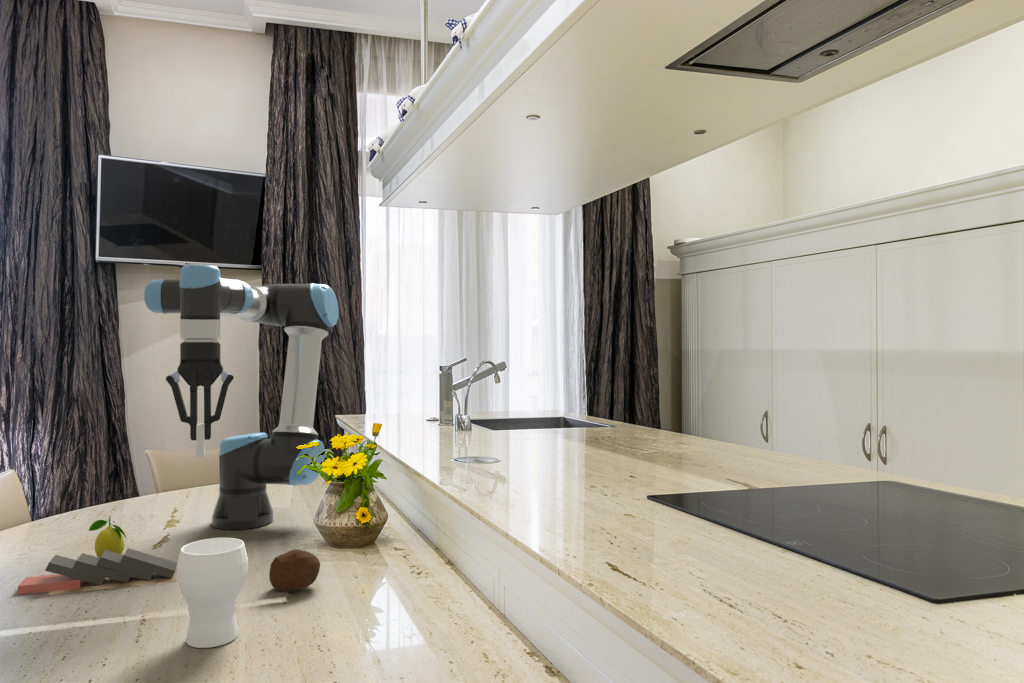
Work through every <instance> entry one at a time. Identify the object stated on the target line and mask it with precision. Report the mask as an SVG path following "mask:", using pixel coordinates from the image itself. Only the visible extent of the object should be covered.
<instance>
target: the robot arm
mask: <svg viewBox="0 0 1024 683" xmlns="http://www.w3.org/2000/svg"><path fill="white" fill-rule="evenodd" d="M143 293H144V294H143V301H144V304H145V306H146V307H147V309H148V310H150V311H151V312H152V313H154V314H155V313H156V314H164V315H166V314H167V315H168V314H180V316H179V317H180V318H179V319H180V320H179V331H180V332H179V338H180V339H181V340H183V341H182V342H181V343H180V344H179V347H180V348H179V352H180V353H179V354H180V355H179V356H180V357H179V358H180V360H179V365H178V367H177V371H175V372H173V373H172V374H168V375H167V376H166V377H165V380H166V381H165V382H167V383H168V384H169V387H171V391H172V394H173V397H174V398H173V399H174V401H175V405H176V409H177V412H178V416H179V420H180V422H182V423H186V424H188V425H189V426H190V427H189V428H190V434H189V436H190V438H189V439H190V440H191V441H196V442H195V443H196V445H195V446H196V447H195V448H196V455H195V456H196V458H205V456H206V441H209V440H211V437H212V425H213V423H215V422H218V421H220V420H221V417H222V416H221V415H222V413H223V409H224V405H225V401H226V397H227V392H228V389H229V386H230V384H231V382H232V381H233V380H234V377H235V376H234V374H233V373H230V372H228V371H226V370H224V366H223V365H222V362H221V343H220V341H218V340H220V339H221V317H233V318H239V319H241V320H242V321H244V322H250V323H251V322H252V323H258V324H264V325H268V326H269V325H270V326H276V327H284V328H283V330H284V332H285V333H286V335H287V336H288V344H287V354H286V360H285V361H286V362H285V371H284V380H283V388H282V395H281V396H282V397H281V407H280V415H279V423H278V426H277V427H275V429H274V428H273V430H272V432H271V438H268V434H267V433H266V432H254V433H252V432H251V433H246V434H238V435H233V436H229V437H226V438H224V439H222V440H221V442H220V445H219V452H218V453H219V454H218V460H219V462H218V464H219V474H218V475H219V478H218V479H219V480H218V482H219V483H218V484H219V485H218V486H219V492H218V497H217V501H216V504H215V506H214V510H213V513H212V516H211V526H212V527H213V528H216V529H220V530H229V531H230V530H232V531H233V530H246V529H253V528H259V527H263V526H266V525H269V524H271V523H272V522H273V521H274V509H273V507H272V504H271V501H270V498H269V495H268V492H267V485H281V486H282V485H284V486H295V487H296V486H308V485H310V484H313V483H314V481H316V480H317V478H318V477H319V475H320V474H319V473H317V472H315V471H312V470H310V469H309V468H304V469H303V470H302V471H301V473H300V474H298V475H297V472H298V471H299V470H300V469H301V468H302V467H303V466H304V465H308V464H310V463H311V459H310V458H309V457H302V458H300V459H298V460H296V459H297V458H299V457H300V456H302V455H303V454H308V455H309V456H310V457H316V456H317V455H319V454H320V453H321V452H323V451H325V444H324V443H323V441H322V440H319V433H318V432H317V431H316V430H315V428H314V421H315V412H316V401H317V391H318V384H319V382H318V381H319V372H320V364H321V363H320V362H321V354H322V352H321V351H322V344H323V343H322V341H323V340H324V339H325V338H327V336H329V333H330V332H329V330H330V328H332V327H335V325H337V324H338V321H339V317H340V316H339V315H340V314H339V313H340V312H339V309H340V308H339V302H338V299H337V296H336V294H335V292H334V290H333V289H332V288H331V287H330V286H329V285H327V284H325V283H324V284H323V283H314V282H311V283H273V284H265V285H264V284H263V285H250V284H248V283H247V282H245V281H244V280H243V281H242V280H240V279H236V278H223V277H222V276H221V270H220V268H219V267H217V266H216V265H210V264H209V265H208V264H207V265H206V264H186V265H184V266H182V267H181V268H180V277H179V278H178V279H177V278H176V279H175V278H173V279H171V278H170V279H169V278H168V279H167V278H161V279H152V280H150V281H149V282H148V283H147V284H146V286H145V288H144V291H143ZM220 375H221V379H220V380H221V381H220V382H222V385H221V387H220V393H219V396H218V400H217V404H216V408H215V411H214V415H212V385H213V384H215V382H216V381H217V379H218V378H219V377H220ZM180 376H181V378H182V379H183V380H184V381H185V383H186V384H187V385H188V386H189V416H188V413H187V408H186V406H185V400H184V398H183V395H182V391H181V387H180V385H179V383H180V381H181V379H180ZM200 386H201V387H203V423H202V422H201V423H198V421H199V420H198V387H200ZM310 442H318V443H319V446H314V447H311V448H303V449H297V448H296V447H297V446H299V445H304V444H308V443H310ZM325 455H326V454H325ZM325 455H320V456H318V457H317V458H316V462H317V463H321V462H323V461H324V462H325V457H326V456H325Z"/></svg>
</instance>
